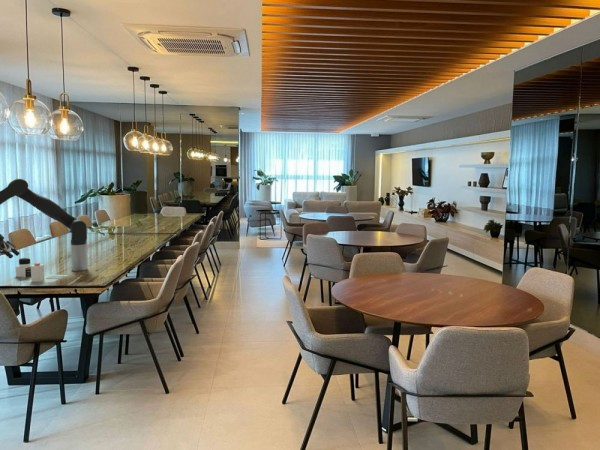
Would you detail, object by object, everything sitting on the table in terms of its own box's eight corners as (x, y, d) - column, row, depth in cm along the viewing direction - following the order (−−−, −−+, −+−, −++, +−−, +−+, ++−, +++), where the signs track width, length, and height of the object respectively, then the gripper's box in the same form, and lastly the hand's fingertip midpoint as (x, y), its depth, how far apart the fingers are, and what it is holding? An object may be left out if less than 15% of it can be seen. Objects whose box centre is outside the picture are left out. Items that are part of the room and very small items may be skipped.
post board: (44, 276, 287) (44, 268, 287) (68, 276, 287) (68, 269, 287) (26, 283, 269) (26, 275, 268) (52, 284, 268) (51, 276, 268)
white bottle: (31, 281, 269) (30, 264, 268) (35, 279, 274) (34, 262, 273) (41, 281, 270) (40, 264, 269) (44, 279, 275) (43, 262, 274)
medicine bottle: (25, 279, 279) (25, 259, 278) (15, 278, 281) (14, 259, 279) (34, 276, 286) (34, 257, 285) (25, 275, 288) (24, 256, 286)
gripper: (-9, 233, 259) (14, 253, 262) (3, 230, 273) (25, 249, 276) (-19, 243, 258) (4, 263, 262) (-7, 239, 272) (16, 258, 276)
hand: (15, 256), depth 269 cm, fingers open, 8 cm apart
